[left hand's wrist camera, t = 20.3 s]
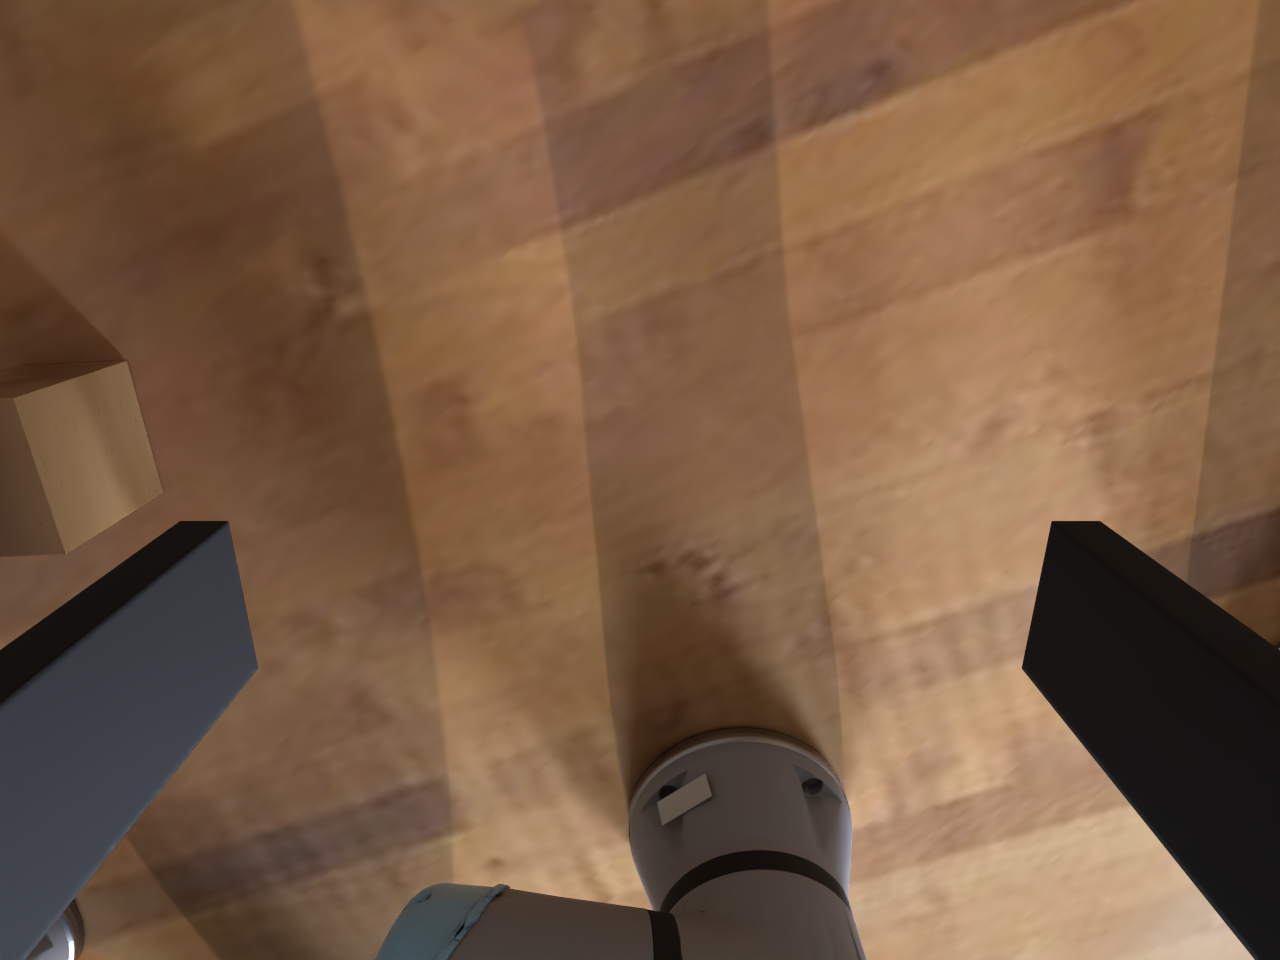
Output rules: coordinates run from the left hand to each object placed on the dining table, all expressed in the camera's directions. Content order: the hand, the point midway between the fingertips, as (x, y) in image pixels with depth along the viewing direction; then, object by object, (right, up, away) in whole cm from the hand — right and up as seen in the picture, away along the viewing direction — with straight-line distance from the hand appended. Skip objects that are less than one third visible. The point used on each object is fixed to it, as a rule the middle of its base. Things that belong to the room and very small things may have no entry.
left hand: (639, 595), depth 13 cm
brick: (-32, +5, +32) cm, 45 cm away
